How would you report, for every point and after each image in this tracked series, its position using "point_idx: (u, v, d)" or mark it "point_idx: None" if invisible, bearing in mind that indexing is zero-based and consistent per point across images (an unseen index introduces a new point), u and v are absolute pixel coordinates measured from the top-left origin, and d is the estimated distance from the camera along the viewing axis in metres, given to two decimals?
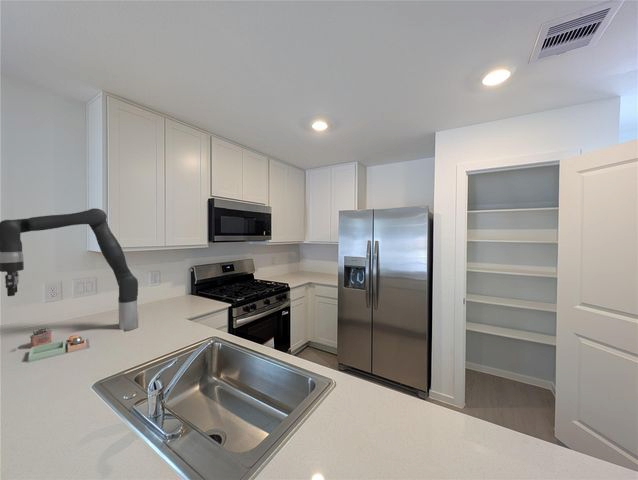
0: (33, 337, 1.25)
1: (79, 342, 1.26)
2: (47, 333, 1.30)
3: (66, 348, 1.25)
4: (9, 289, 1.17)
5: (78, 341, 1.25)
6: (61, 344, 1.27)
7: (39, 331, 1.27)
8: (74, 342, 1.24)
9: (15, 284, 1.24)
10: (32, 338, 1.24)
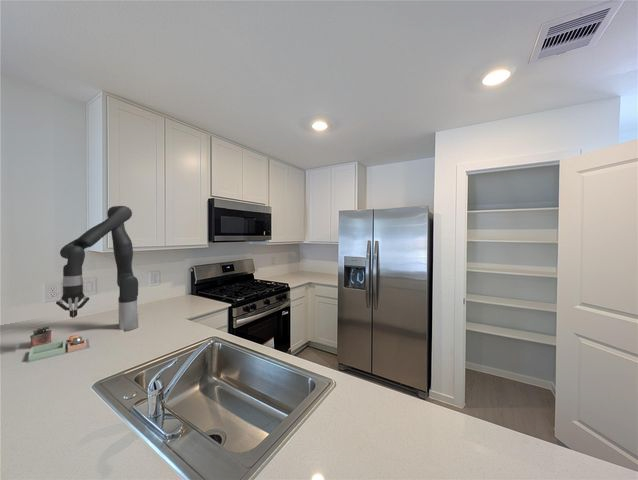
0: (33, 337, 1.25)
1: (79, 342, 1.26)
2: (47, 333, 1.30)
3: (66, 348, 1.25)
4: None
5: (78, 341, 1.25)
6: (61, 344, 1.27)
7: (39, 331, 1.27)
8: (74, 342, 1.24)
9: (72, 309, 1.30)
10: (32, 338, 1.24)
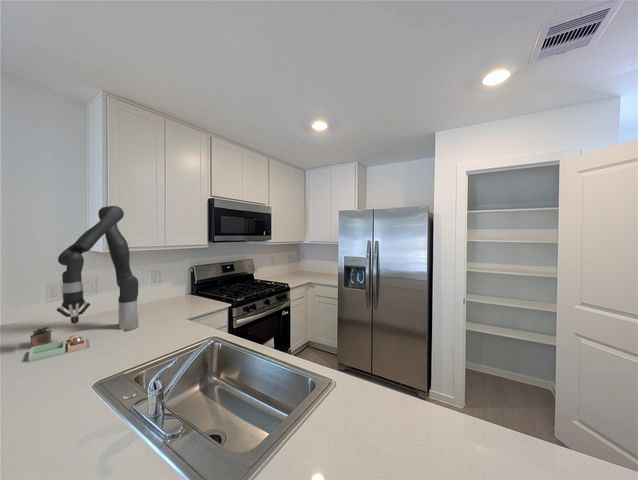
0: (33, 337, 1.25)
1: (79, 342, 1.26)
2: (47, 333, 1.30)
3: (66, 348, 1.25)
4: None
5: (78, 341, 1.25)
6: (61, 344, 1.27)
7: (39, 331, 1.27)
8: (74, 342, 1.24)
9: None
10: (32, 338, 1.24)
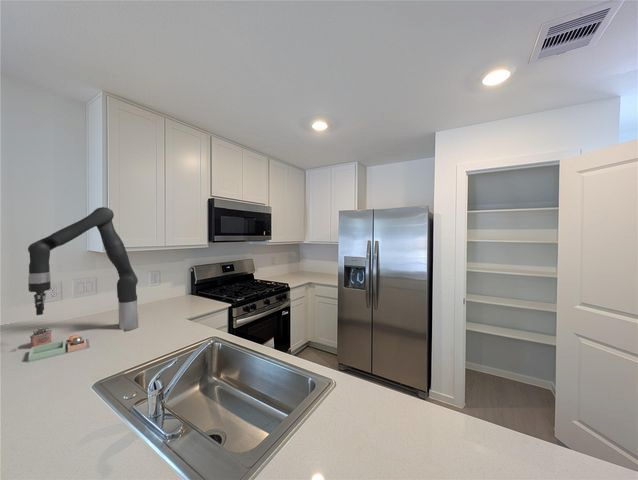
0: (33, 337, 1.25)
1: (79, 342, 1.26)
2: (47, 333, 1.30)
3: (66, 348, 1.25)
4: None
5: (78, 341, 1.25)
6: (61, 344, 1.27)
7: (39, 331, 1.27)
8: (74, 342, 1.24)
9: None
10: (32, 338, 1.24)
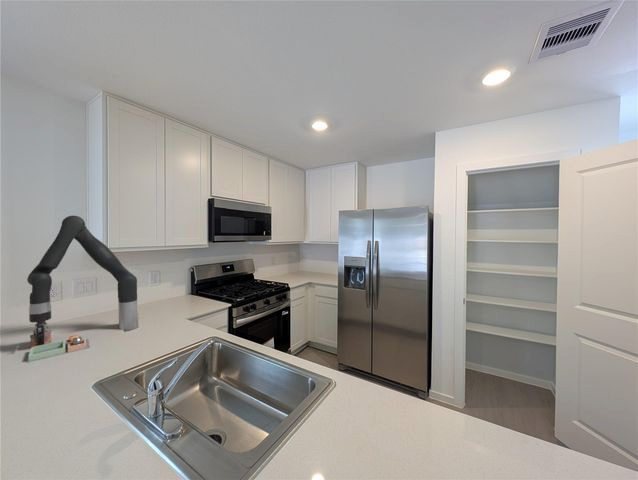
0: (33, 337, 1.25)
1: (79, 342, 1.26)
2: (47, 333, 1.30)
3: (66, 348, 1.25)
4: None
5: (78, 341, 1.25)
6: (61, 344, 1.27)
7: None
8: (74, 342, 1.24)
9: None
10: (32, 338, 1.24)
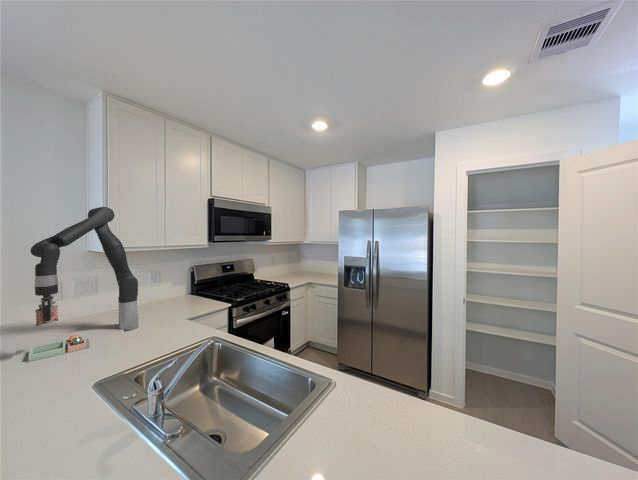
0: (38, 311, 1.16)
1: (79, 342, 1.26)
2: (53, 308, 1.21)
3: (66, 348, 1.25)
4: None
5: (78, 341, 1.25)
6: (61, 344, 1.27)
7: None
8: (74, 342, 1.24)
9: None
10: (37, 312, 1.16)
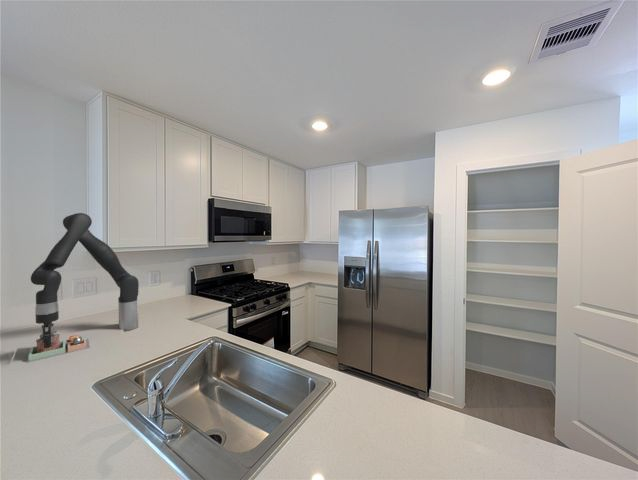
0: (39, 342, 1.17)
1: (80, 342, 1.26)
2: (54, 337, 1.22)
3: (66, 348, 1.25)
4: None
5: (79, 341, 1.25)
6: (61, 344, 1.27)
7: None
8: (75, 342, 1.24)
9: None
10: (38, 343, 1.17)
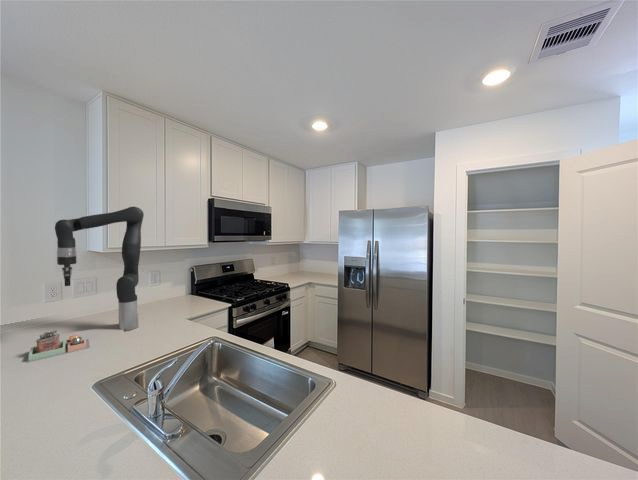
0: (39, 342, 1.17)
1: (80, 341, 1.26)
2: (54, 337, 1.22)
3: (66, 348, 1.25)
4: None
5: (79, 340, 1.26)
6: (61, 344, 1.27)
7: (46, 335, 1.19)
8: (76, 342, 1.24)
9: None
10: (38, 343, 1.17)
